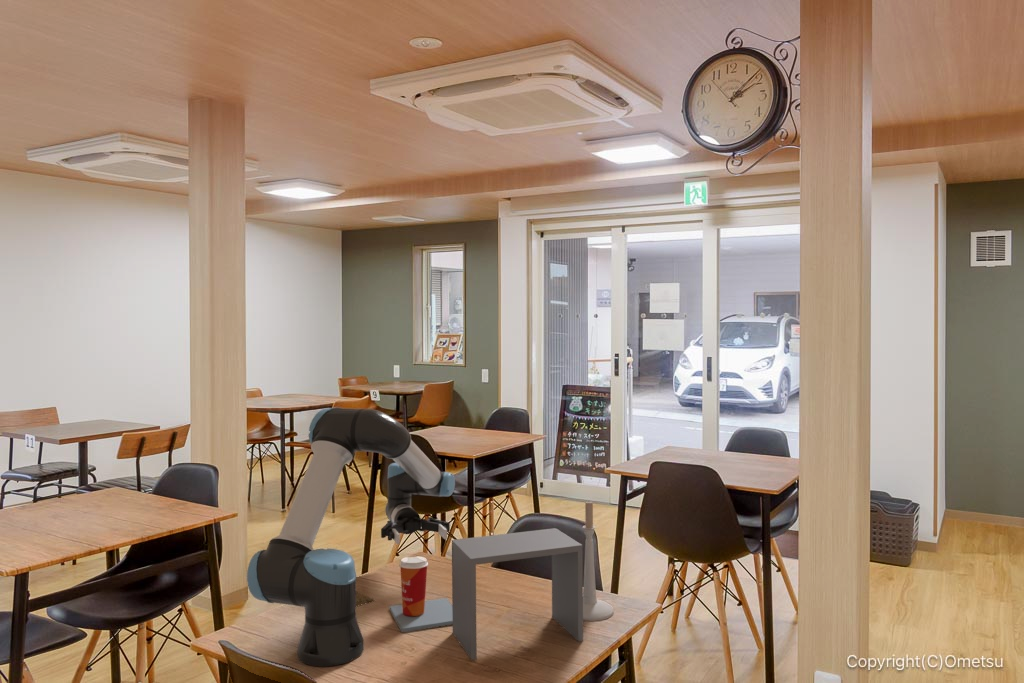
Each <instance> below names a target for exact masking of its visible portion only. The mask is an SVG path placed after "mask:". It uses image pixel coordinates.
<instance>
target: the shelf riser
mask: <svg viewBox="0 0 1024 683" xmlns="http://www.w3.org/2000/svg"><path fill="white" fill-rule="evenodd" d="M583 554H584V553H583V544H582V543H580V542H578V541H577V540H575V539H574V538H572V537H571V536H569V535H567V534H566V533H564V532H563V531H561V530H560V529H558V528H556V527H555V528H546V529H545V528H544V529H536V530H527V531H520V532H519V531H517V532H511V533H510V532H509V533H502V534H501V533H500V534H494V535H493V534H492V535H483V536H475V537H466V538H458V539H457V538H456V539H451V581H452V583H451V588H452V589H451V592H452V593H451V595H452V596H451V597H452V599H451V600H452V603H451V604H452V616H453V625H452V634H453V636H454V635H455V636H454V637H455V638H457V639H458V640H457V639H456V640H457V642H458V643H459V642H460V643H459V644H460V645H462V646H461V648H464V649H463V650H464V651H465V654H466V655H468V657H469V658H470V660H471V661H474V660H477V656H478V655H477V650H478V649H477V648H478V647H477V645H478V644H477V642H478V641H477V567H476V566H477V565H485V564H492V563H501V562H509V561H517V560H524V559H531V558H532V559H533V558H539V557H548V556H551V613H552V614H551V618H552V619H553V620H555V621H556V622H557V623H558V624H559V625H560V626H561V627H562V628H563V629H564V630H565V629H566V630H565V631H566V632H568V633H569V635H571V636H572V638H574V639H575V640H576V641H577V642H583V641H584V620H583V587H584V570H583V566H584V565H583V562H584V561H583Z"/></svg>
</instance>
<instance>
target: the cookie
mask: <svg viewBox="0 0 1024 683" xmlns="http://www.w3.org/2000/svg"><path fill="white" fill-rule="evenodd" d="M365 595H366V594H363V593H361V592H359V591H357V590H356V606H357V607H359V606H358V605H360V606H362V605H361V604H363V605H366V604H365V603H367V604H370V603H373V602H376V601H375V600H376V599H375V598H373V597H370V596H367V595H366V596H365ZM372 601H373V602H372ZM369 602H370V603H369Z"/></svg>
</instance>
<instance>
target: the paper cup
mask: <svg viewBox="0 0 1024 683" xmlns="http://www.w3.org/2000/svg"><path fill="white" fill-rule="evenodd" d="M398 565H399V567H400V585H401V604H402V607H403V614H404V615H406V616H419V615H422V614H423V613H424V607H425V601H426V592H427V591H426V590H427V589H426V588H427V577H428V576H427V575H428V574H427V573H428V566H429V562H428V559H427V558H426V557H424V556H405V557H403V558H401V559H400V562H399V564H398Z"/></svg>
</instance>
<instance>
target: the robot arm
mask: <svg viewBox="0 0 1024 683" xmlns="http://www.w3.org/2000/svg"><path fill="white" fill-rule="evenodd" d="M308 431H309V433H308V439H309V443H310V449H311V451H312V453H313V454H312V457H311V459H310V461H309V463H308V466H307V469H306V471H305V474H304V476H303V478H302V480H301V483H300V486H299V488H298V489H297V493H296V495H295V497H294V499H293V502H292V504H291V506H290V509H289V511H288V513H287V516H286V519H285V521H284V523H283V525H282V527H281V530H280V533H279V535H277V536H274V537H273V538H272V537H271V539H270V540H269V542H268V545H267V547H266V549H262V550H258V551H257V552H255V553H254V554H253V556H252V557H251V559H250V561H249V563H248V567H247V570H246V581H247V587H248V590H249V593H250V594H251V596H252V597H253V598H255V599H257V600H259V601H263V602H267V603H268V604H280V605H290V606H295V607H303V608H304V613H305V614H304V626H303V629H302V631H301V635H300V638H299V642H298V644H297V659H298V660H299V661H300V662H301V663H303V664H305V665H307V666H312V667H333V666H340V665H343V664H347V663H350V662H351V661H353V660H356V659H357V658H358V657H360V656H361V655H362V654H363V652H364V650H365V649H364V648H365V646H364V643H365V642H364V637H363V633H362V631H361V628H360V625H359V623H358V620H357V613H356V608H357V607H356V591H357V590H356V588H357V587H356V585H357V584H356V583H357V582H356V579H357V573H356V565H355V560H354V558H353V556H352V555H351V554H350V553H348V552H346V551H344V550H340V549H337V548H316V549H314V547H313V545H314V542H315V540H316V538H317V535H318V533H319V530H320V528H321V525H322V523H323V522H322V521H323V519H324V517H325V515H326V512H327V509H328V507H329V505H330V503H331V502H330V501H331V499H332V496H333V494H334V492H335V489H336V486H337V483H338V481H339V478H340V476H341V474H342V471H343V469H344V466H345V465H348V464H350V463H351V462H352V461H353V458H354V456H355V454H356V452H368V453H369V452H370V453H377V454H381V455H382V456H383V457H385V458H387V459H391V460H392V461H394V462H391V463H390V464H389V465H388V467H387V503H386V505H385V509H384V510H385V515H386V516H387V519H388V521H386V524H385V525H384V526H382V527H381V528H380V538H382V539H384V538H386V537H387V541H392V540H393V542H395V544H396V545H400V544H401V541H400V540H401V539H400V538H401V536H400V535H401V534H403V535H411V534H413V533H415V532H425V531H427V532H428V531H429V532H435V533H438V535H440V537H442V539H444V540H448V532H450V530H451V529H450V528H451V527H450V526H451V523H450V522H448V521H445V520H440V519H437V518H433V517H431V516H428V517H427V519H426V518H421V516H420V514H419V513H418V512H417V511H416V510H415V509H414V507H412V495H419V496H429V497H430V496H431V497H439V498H440V497H450V496H451V495H453V493H454V490H455V487H456V478H455V476H454V474H453V473H452V472H447V471H441V470H440V469H439V468H438V467H437V466H436V465H435V464H434V462H432V460H430V458H429V457H428V456H427V455H426V454H425V453H424V452H423V450H421V448H420V447H419V446H418V445H417V444H416V443H415V442H414V441H413V440H412V435H411V433H410V432H409V430H408V429H407V428H406V427H405V426H404V425H403V424H402V423H401V422H399V421H398V420H396V419H395V418H394V417H393V416H390V415H388V414H387V413H385V412H382V411H381V410H377V409H373V408H351V407H350V408H348V407H347V408H345V407H344V408H343V407H340V406H334V407H327V408H323V409H320V410H319V411H317V413H316V414H314V416H313V418H312V419H311V422H310V424H309V427H308Z"/></svg>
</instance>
